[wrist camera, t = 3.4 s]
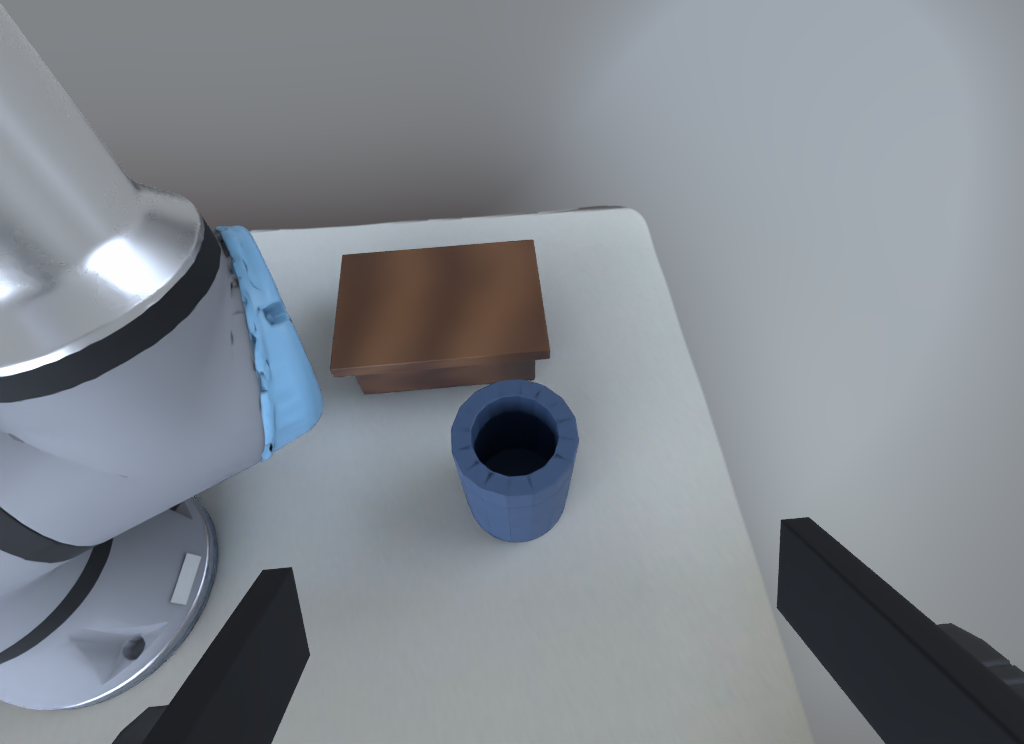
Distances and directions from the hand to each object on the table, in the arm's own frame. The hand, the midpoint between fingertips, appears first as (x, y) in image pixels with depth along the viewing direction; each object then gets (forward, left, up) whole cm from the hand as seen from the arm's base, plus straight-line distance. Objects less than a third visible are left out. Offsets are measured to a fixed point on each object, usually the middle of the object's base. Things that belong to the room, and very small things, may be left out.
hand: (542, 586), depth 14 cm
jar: (0, +11, -25) cm, 27 cm away
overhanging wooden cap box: (-5, +26, -25) cm, 36 cm away
